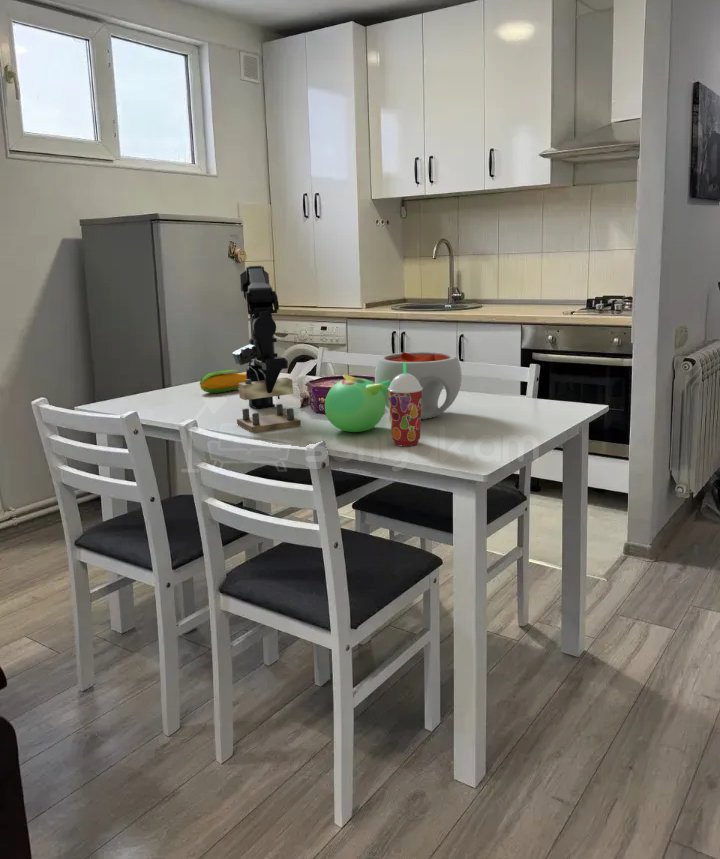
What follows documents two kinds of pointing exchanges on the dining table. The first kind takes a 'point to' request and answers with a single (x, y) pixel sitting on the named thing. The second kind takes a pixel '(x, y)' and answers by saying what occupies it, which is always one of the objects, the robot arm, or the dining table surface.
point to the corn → (222, 381)
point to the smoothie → (405, 408)
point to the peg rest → (268, 420)
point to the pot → (424, 376)
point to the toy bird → (356, 404)
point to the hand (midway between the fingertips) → (266, 391)
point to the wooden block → (264, 389)
